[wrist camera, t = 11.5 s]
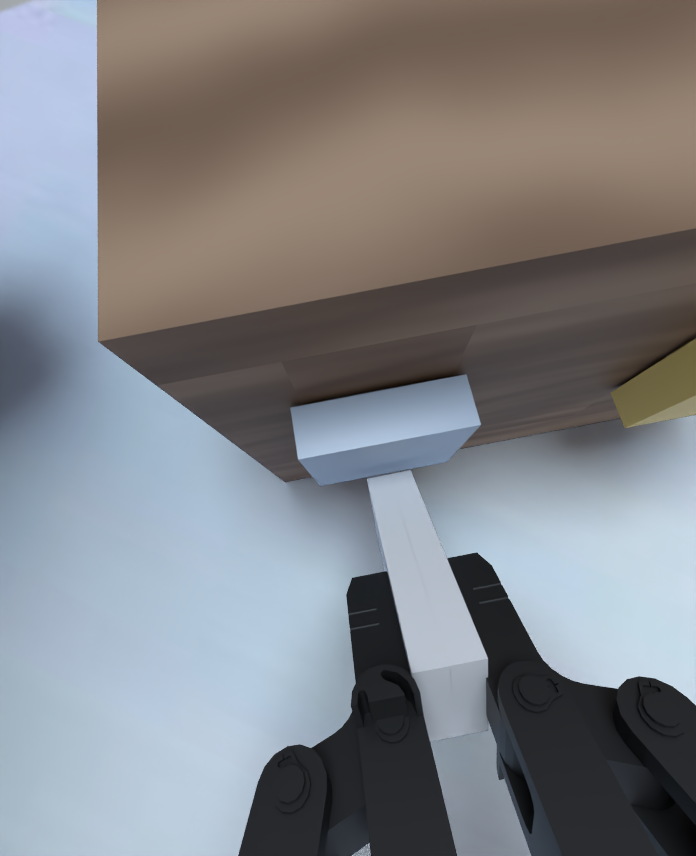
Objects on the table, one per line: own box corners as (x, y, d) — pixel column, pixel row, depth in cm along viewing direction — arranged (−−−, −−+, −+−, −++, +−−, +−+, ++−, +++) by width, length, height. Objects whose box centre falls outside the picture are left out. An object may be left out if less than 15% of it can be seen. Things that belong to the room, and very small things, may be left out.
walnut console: (675, 407, 22) (1343, 104, 7) (284, 481, 22) (98, 341, 7) (610, 258, 25) (983, -188, 10) (263, 324, 25) (97, -20, 10)
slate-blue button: (446, 462, 16) (481, 425, 11) (320, 486, 16) (298, 459, 11) (404, 297, 18) (417, 205, 13) (292, 318, 18) (264, 234, 13)
